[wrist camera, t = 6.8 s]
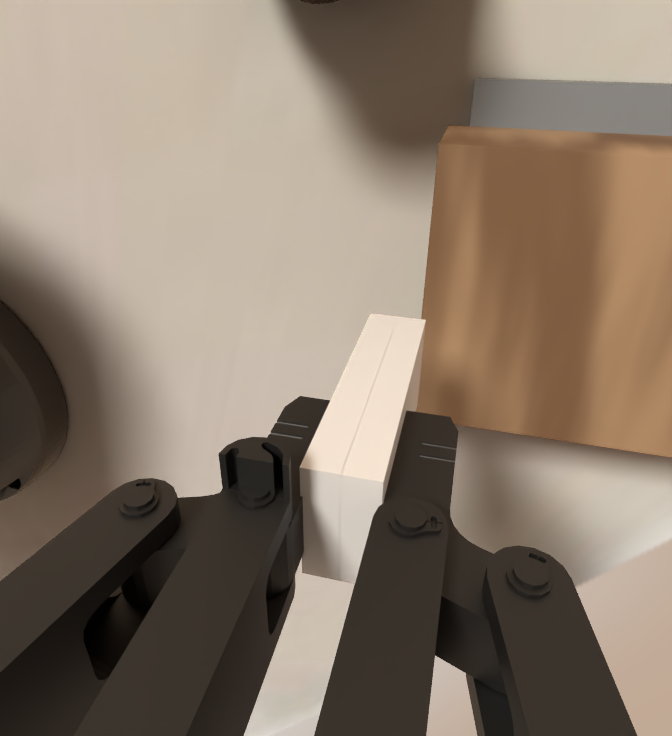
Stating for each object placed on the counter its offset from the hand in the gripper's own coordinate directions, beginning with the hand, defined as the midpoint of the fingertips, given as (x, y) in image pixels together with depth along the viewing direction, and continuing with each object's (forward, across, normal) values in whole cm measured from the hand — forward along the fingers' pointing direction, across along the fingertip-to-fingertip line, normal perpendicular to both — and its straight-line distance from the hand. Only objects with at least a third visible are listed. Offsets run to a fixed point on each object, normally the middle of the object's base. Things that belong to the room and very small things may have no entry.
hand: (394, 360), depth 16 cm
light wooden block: (+7, 0, 0) cm, 7 cm away
